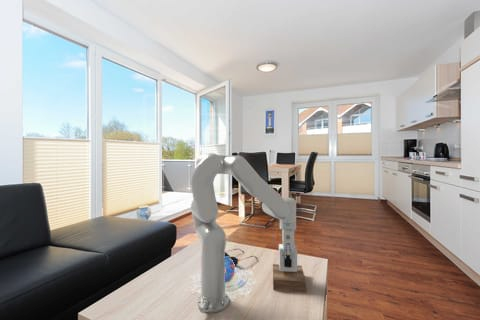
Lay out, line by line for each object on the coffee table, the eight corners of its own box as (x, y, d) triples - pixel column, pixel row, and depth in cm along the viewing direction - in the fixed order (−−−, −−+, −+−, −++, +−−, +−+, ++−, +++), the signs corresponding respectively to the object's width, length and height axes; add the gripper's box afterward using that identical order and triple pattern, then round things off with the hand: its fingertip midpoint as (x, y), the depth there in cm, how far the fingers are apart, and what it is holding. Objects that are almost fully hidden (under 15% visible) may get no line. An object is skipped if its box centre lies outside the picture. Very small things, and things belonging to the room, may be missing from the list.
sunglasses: (221, 260, 128) (222, 251, 129) (242, 253, 139) (242, 245, 139) (237, 269, 118) (237, 259, 118) (258, 261, 129) (259, 252, 129)
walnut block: (306, 293, 97) (306, 281, 97) (273, 290, 99) (273, 279, 99) (301, 275, 111) (301, 265, 111) (272, 274, 113) (272, 264, 113)
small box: (295, 266, 107) (295, 244, 107) (297, 272, 102) (297, 249, 101) (278, 265, 108) (278, 243, 108) (279, 271, 102) (279, 248, 102)
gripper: (297, 231, 95) (297, 273, 96) (295, 220, 112) (295, 256, 112) (279, 230, 97) (279, 272, 97) (279, 219, 114) (279, 254, 114)
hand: (287, 263), depth 105 cm, fingers closed on small box, 5 cm apart
